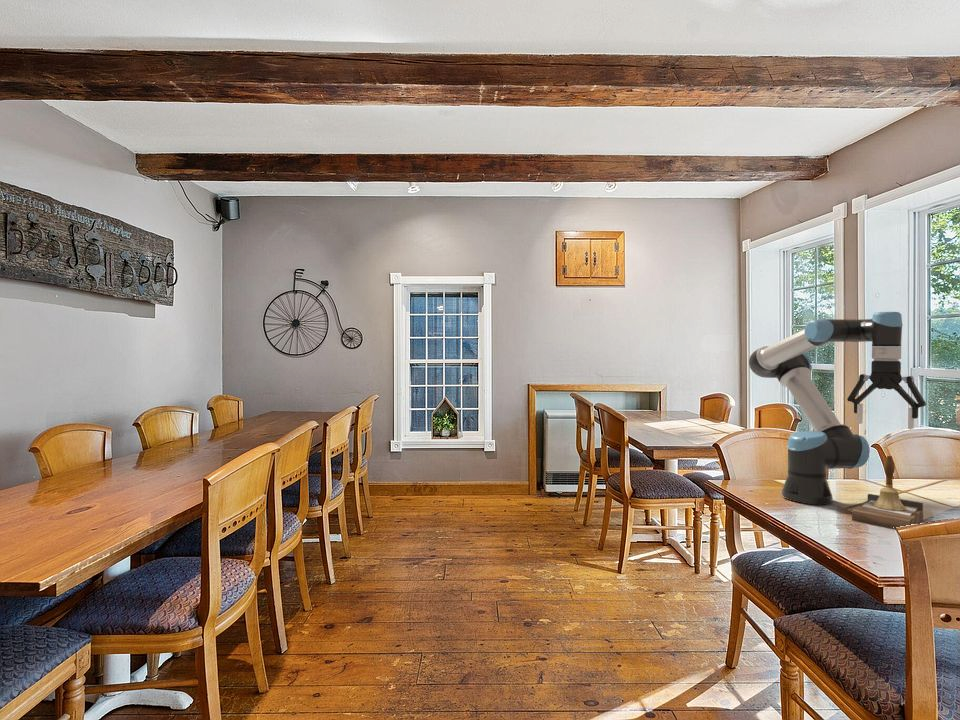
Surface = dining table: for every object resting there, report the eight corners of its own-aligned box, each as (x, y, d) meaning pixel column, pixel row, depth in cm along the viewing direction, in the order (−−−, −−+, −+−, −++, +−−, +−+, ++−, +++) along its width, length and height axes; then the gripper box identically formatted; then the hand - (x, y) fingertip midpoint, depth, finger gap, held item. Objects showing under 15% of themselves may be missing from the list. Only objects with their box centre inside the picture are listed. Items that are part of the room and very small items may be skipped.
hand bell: (866, 503, 170) (866, 453, 170) (890, 503, 170) (891, 453, 170) (887, 511, 162) (888, 459, 161) (913, 511, 162) (914, 458, 162)
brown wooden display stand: (909, 531, 154) (909, 514, 154) (851, 520, 164) (852, 503, 164) (922, 518, 165) (923, 502, 165) (868, 508, 176) (868, 493, 176)
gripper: (837, 359, 178) (835, 422, 179) (932, 361, 159) (930, 432, 159) (845, 358, 183) (844, 420, 184) (939, 360, 163) (937, 429, 164)
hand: (884, 426), depth 172 cm, fingers open, 13 cm apart
